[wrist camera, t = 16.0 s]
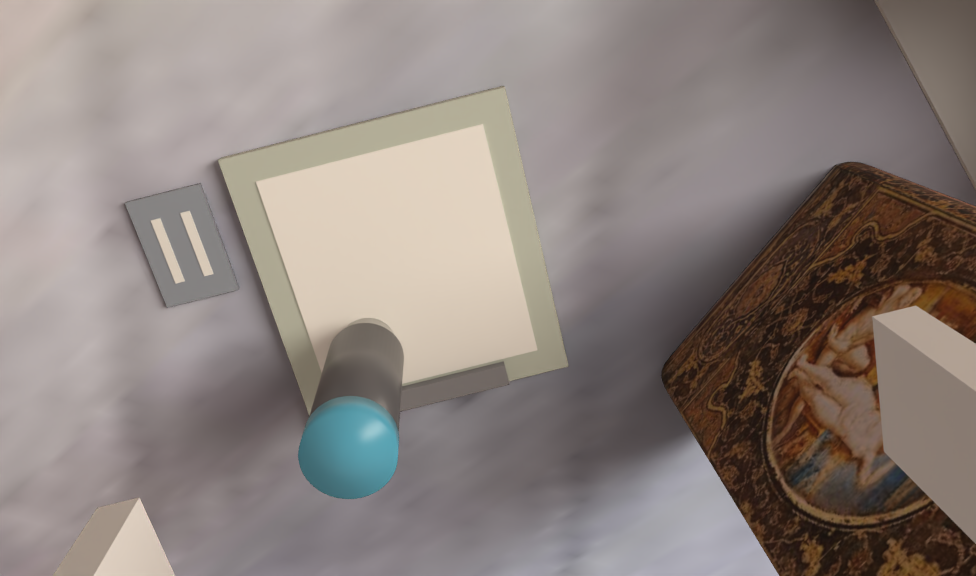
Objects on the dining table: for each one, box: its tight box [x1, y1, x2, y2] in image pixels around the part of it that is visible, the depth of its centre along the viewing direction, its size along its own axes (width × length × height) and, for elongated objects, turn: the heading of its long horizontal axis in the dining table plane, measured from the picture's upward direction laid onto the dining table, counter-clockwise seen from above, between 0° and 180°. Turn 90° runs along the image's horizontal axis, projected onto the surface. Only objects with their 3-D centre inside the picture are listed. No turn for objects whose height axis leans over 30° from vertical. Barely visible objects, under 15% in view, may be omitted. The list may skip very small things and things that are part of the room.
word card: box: [125, 183, 239, 308], centre depth 44 cm, size 6×4×1 cm, turn 14°
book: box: [662, 162, 976, 576], centre depth 35 cm, size 16×6×25 cm, turn 143°
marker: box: [298, 318, 404, 499], centre depth 40 cm, size 4×4×12 cm
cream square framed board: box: [218, 86, 569, 416], centre depth 45 cm, size 16×15×1 cm
